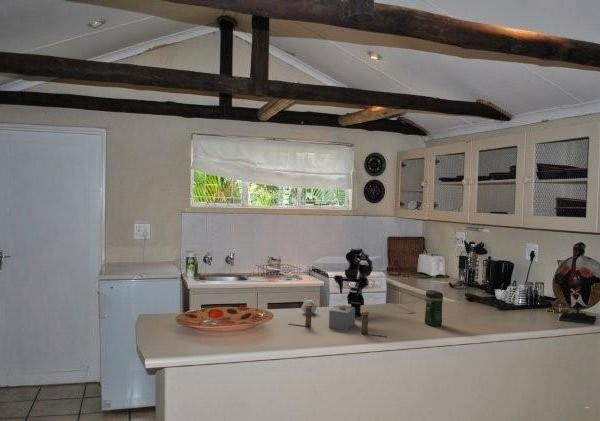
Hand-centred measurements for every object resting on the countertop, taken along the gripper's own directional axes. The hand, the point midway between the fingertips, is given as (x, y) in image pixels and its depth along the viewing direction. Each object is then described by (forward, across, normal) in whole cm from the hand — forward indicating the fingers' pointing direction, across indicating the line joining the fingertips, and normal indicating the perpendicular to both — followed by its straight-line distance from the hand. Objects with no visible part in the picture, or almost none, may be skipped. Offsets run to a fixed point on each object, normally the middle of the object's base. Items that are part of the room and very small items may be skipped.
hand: (348, 294), depth 276 cm
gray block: (+18, 0, -2) cm, 19 cm away
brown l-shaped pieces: (+24, 0, -11) cm, 27 cm away
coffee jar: (+5, +44, +20) cm, 49 cm away
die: (+10, -25, +13) cm, 30 cm away
